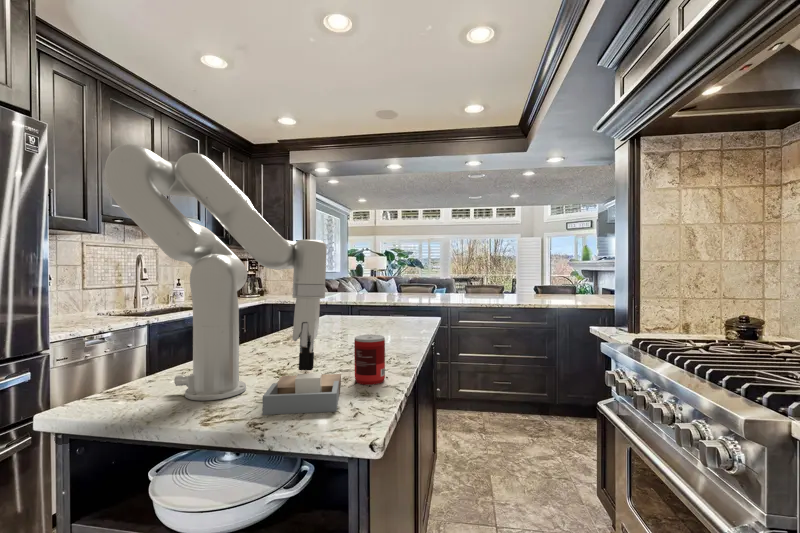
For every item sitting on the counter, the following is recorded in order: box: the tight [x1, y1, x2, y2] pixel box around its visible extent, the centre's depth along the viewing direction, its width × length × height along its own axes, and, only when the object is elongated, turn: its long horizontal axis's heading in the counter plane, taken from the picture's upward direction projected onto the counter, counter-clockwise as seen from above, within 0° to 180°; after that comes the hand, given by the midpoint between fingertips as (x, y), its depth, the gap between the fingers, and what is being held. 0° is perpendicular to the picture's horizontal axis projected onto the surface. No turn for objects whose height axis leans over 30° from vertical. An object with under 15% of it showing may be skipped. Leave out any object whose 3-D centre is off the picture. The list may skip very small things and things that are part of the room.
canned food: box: [353, 334, 386, 386], centre depth 98 cm, size 8×8×11 cm
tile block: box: [295, 372, 323, 394], centre depth 81 cm, size 5×5×4 cm
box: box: [262, 381, 340, 416], centre depth 79 cm, size 14×9×4 cm, turn 96°
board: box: [276, 373, 342, 394], centre depth 89 cm, size 14×10×2 cm
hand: (306, 369), depth 92 cm, fingers closed
